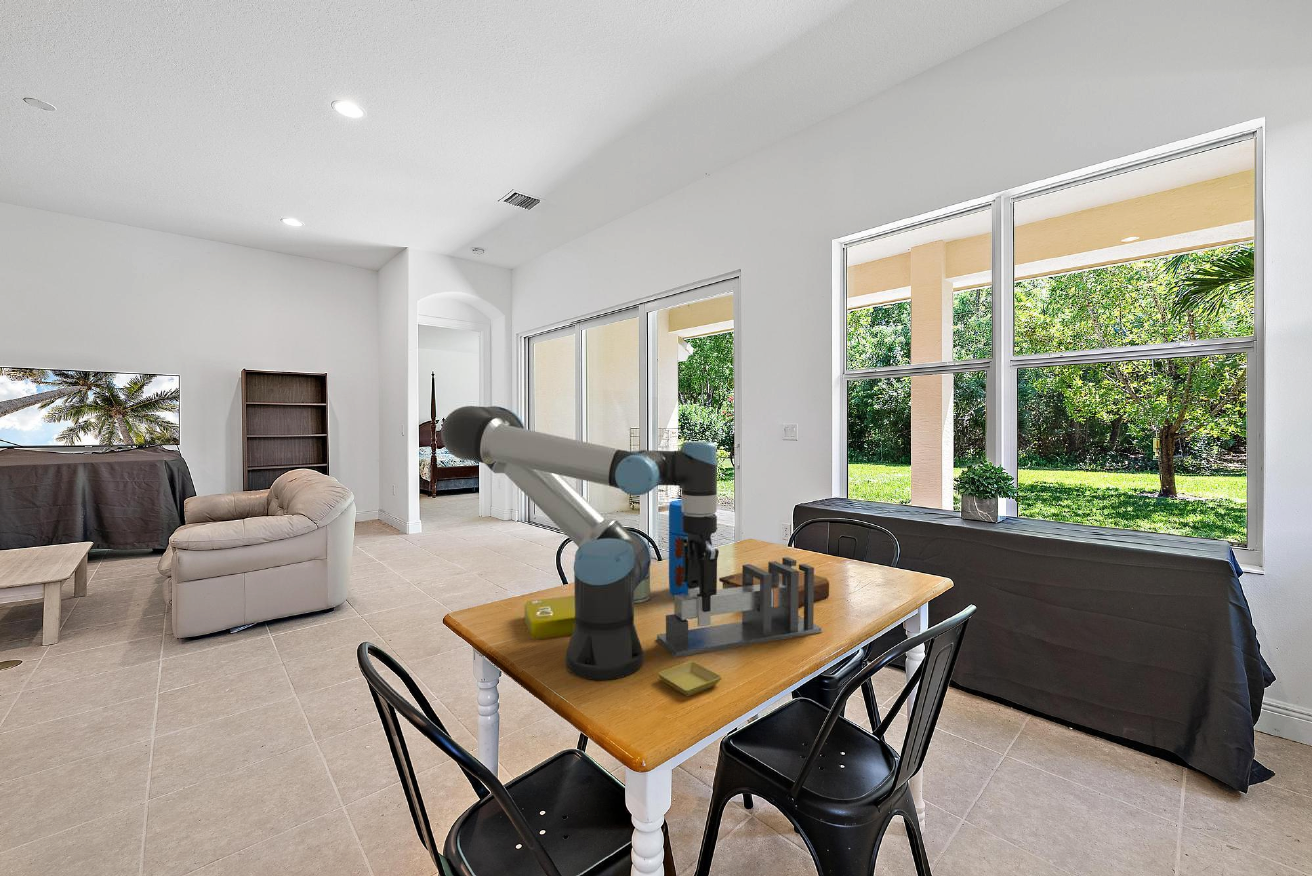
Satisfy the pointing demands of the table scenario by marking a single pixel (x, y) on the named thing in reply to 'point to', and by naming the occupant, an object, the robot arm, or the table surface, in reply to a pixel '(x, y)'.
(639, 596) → the coffee can
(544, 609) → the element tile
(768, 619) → the grey slotted frame stand
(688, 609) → the light grey square rod
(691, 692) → the saucer
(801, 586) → the diary
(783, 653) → the table surface
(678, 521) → the thermos
